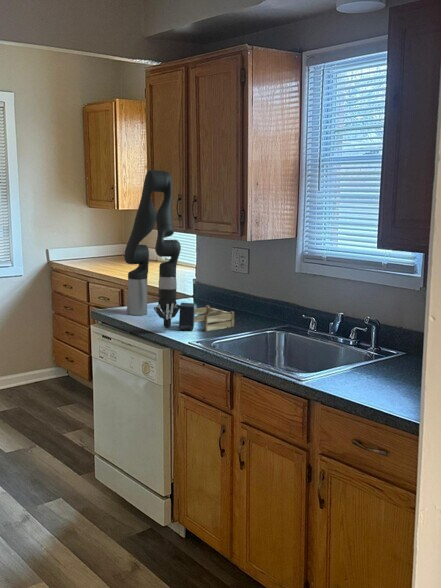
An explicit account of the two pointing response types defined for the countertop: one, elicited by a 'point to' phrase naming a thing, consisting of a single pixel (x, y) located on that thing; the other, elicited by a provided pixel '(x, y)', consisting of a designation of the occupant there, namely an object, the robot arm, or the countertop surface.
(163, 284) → the robot arm
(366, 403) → the countertop surface
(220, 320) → the pine crate
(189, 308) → the small box
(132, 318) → the countertop surface
